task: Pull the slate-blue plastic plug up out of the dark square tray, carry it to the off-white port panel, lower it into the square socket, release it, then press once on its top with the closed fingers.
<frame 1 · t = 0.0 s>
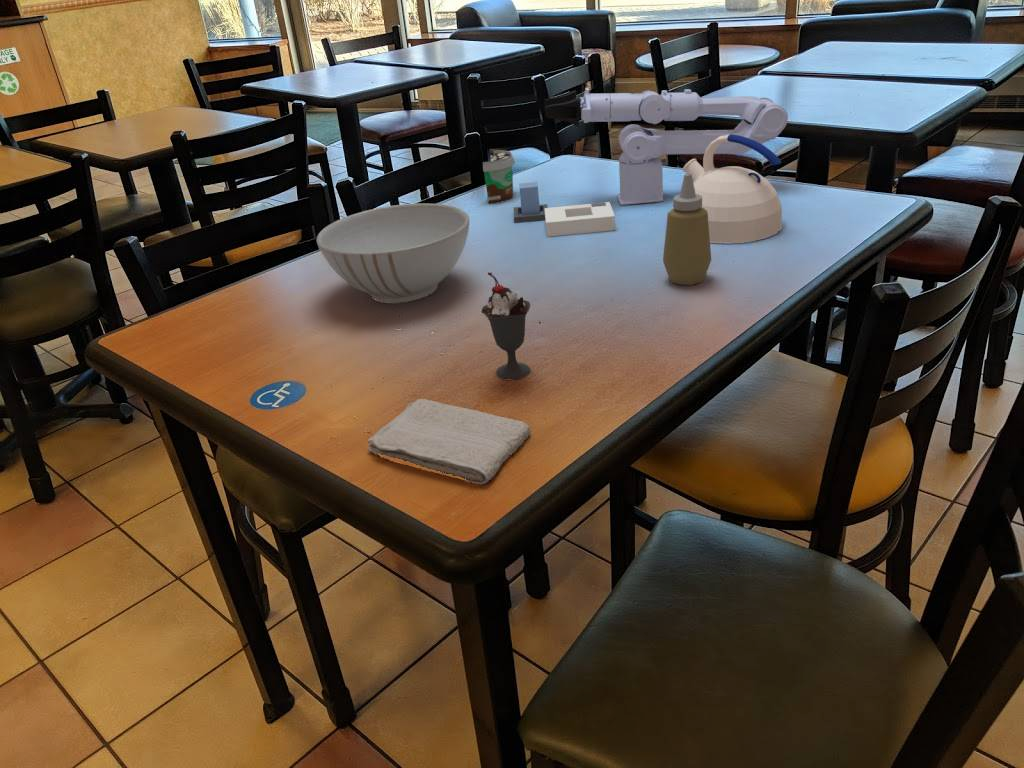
hand: (545, 108, 168), 22 cm above the table, tool horizontal, fingers open, 7 cm apart
decorative bowl: (404, 291, 143), on the table
sundae: (513, 373, 112), on the table
squeeze bottle: (686, 280, 135), on the table
washcloth: (449, 449, 97), on the table
port panel: (579, 225, 165), on the table
food container: (505, 198, 189), on the table
dark square tray: (531, 216, 174), on the table
plug: (529, 200, 172), in the dark square tray
kettle: (728, 228, 156), on the table
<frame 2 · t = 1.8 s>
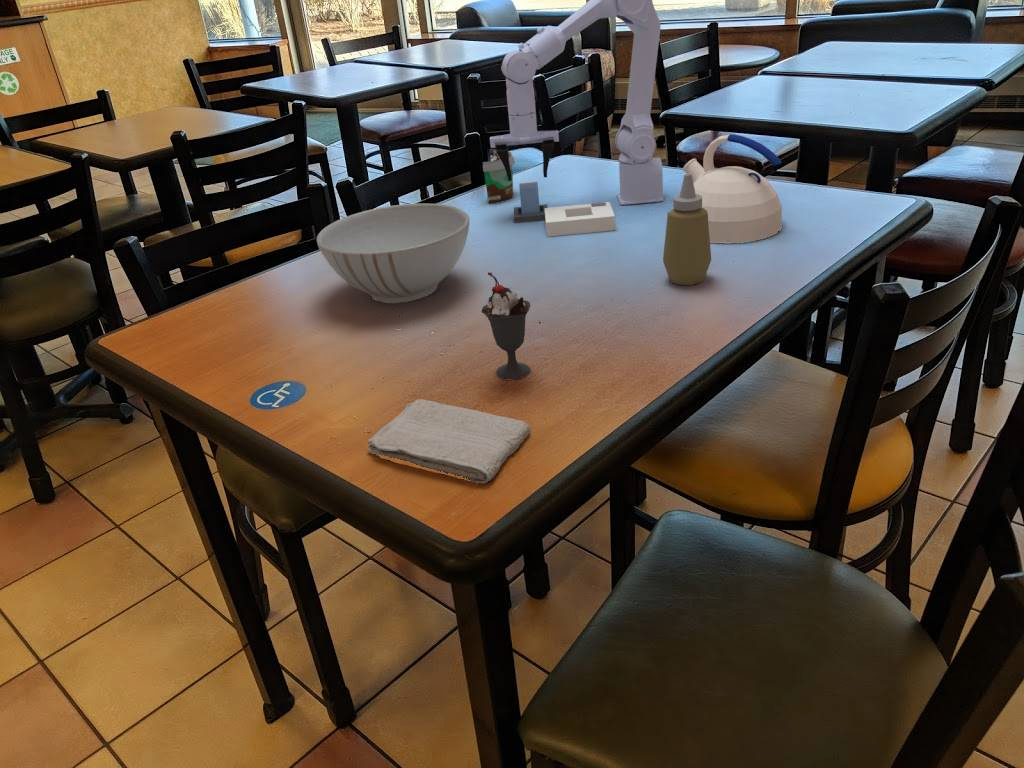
hand: (527, 177, 170), 9 cm above the table, tool pointing down, fingers open, 7 cm apart
nothing on the table moved.
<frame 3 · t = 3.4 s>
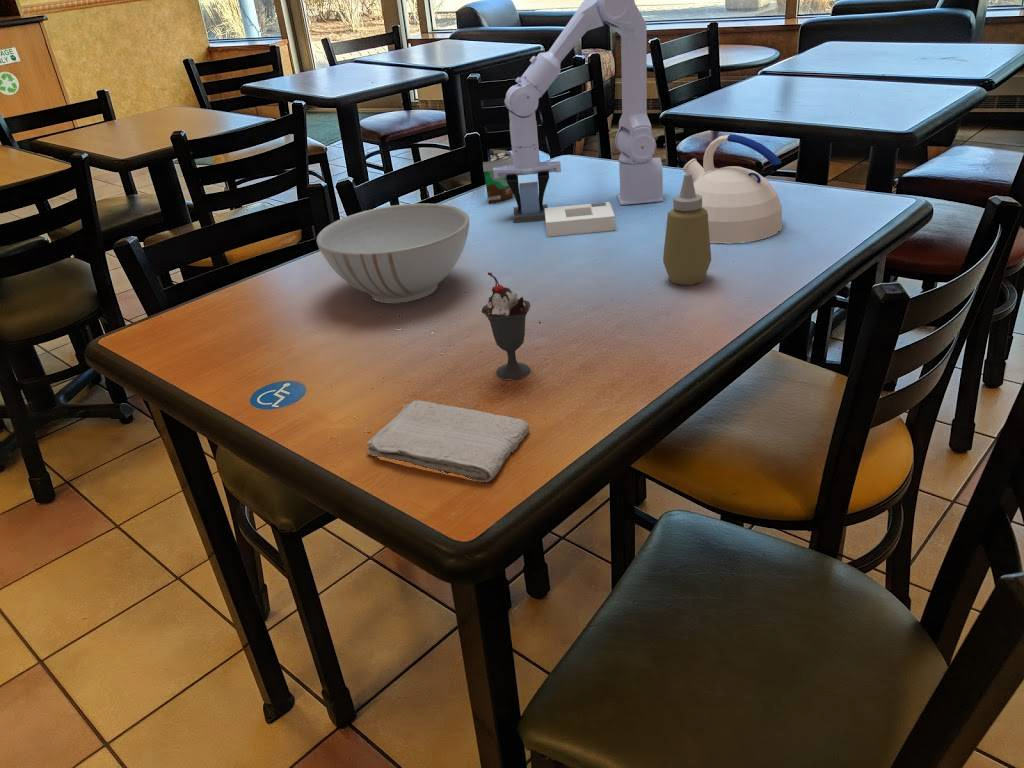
hand: (530, 207, 173), 2 cm above the table, tool pointing down, fingers closed on plug, 4 cm apart
plug: (529, 200, 172), in the dark square tray, touching gripper
everything else where it was.
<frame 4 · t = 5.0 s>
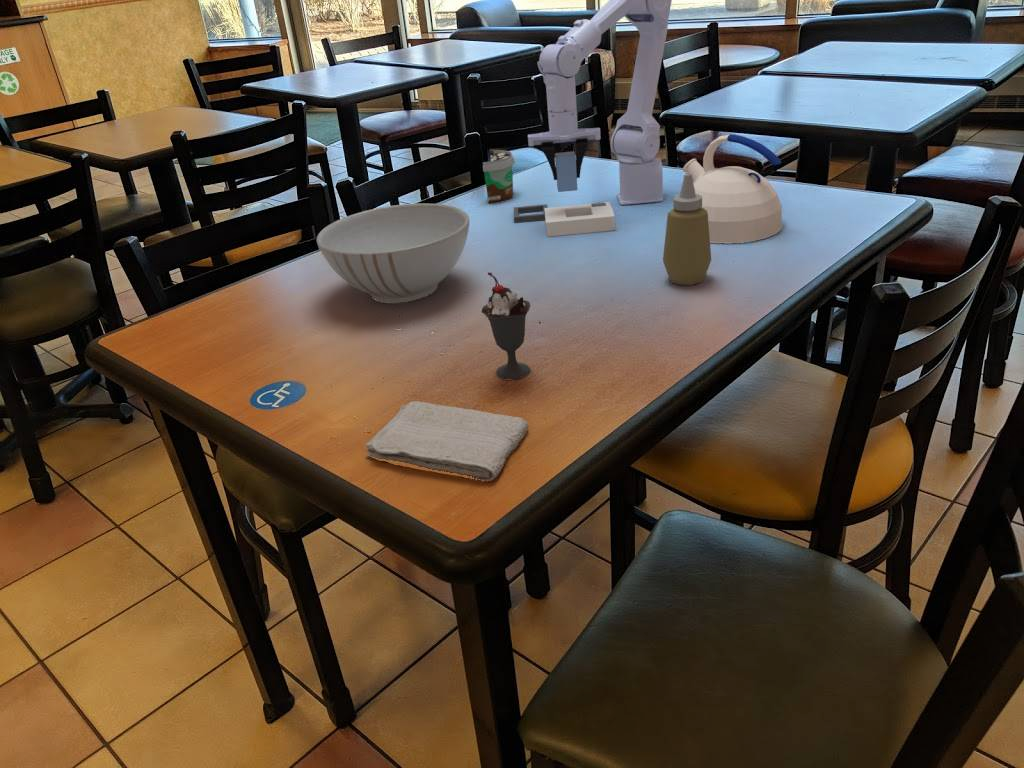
hand: (566, 177, 162), 10 cm above the table, tool pointing down, fingers closed on plug, 4 cm apart
plug: (566, 171, 161), point 11 cm above the table, touching gripper
everything else where it was.
when the fingers open (3 cm above the table, at t = 7.0 s): plug drops 1 cm, resting in port panel.
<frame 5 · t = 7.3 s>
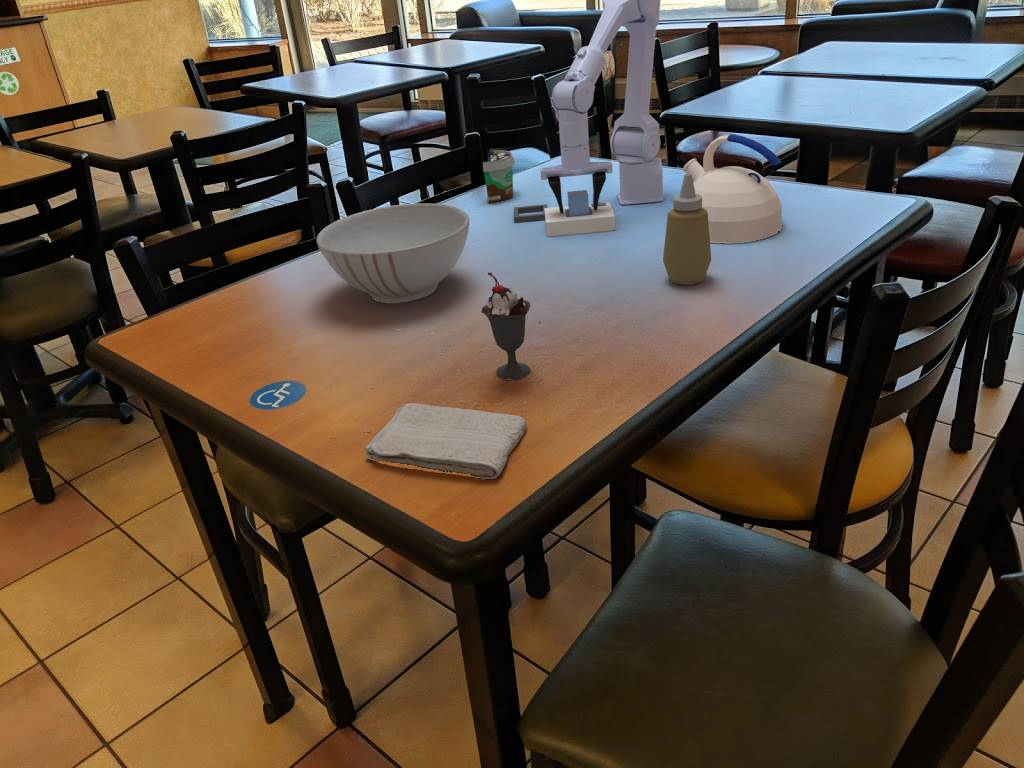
hand: (578, 210, 163), 3 cm above the table, tool pointing down, fingers open, 6 cm apart
plug: (578, 209, 163), in the port panel
everything else where it was.
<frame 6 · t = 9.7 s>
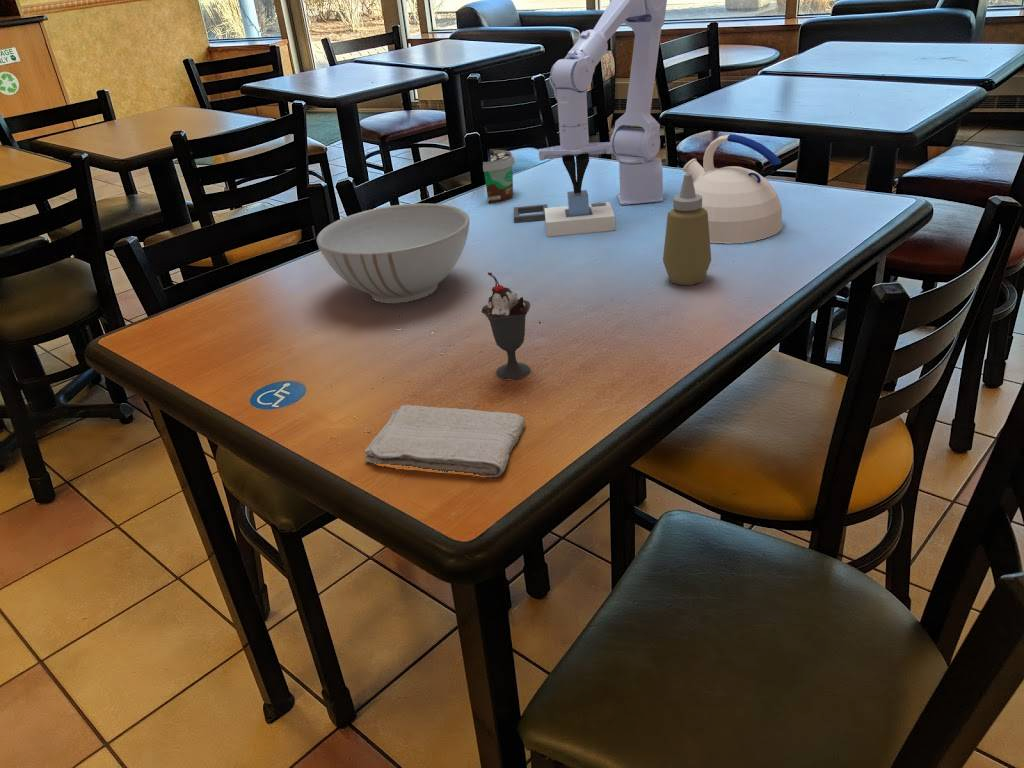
hand: (577, 191, 161), 7 cm above the table, tool pointing down, fingers closed
nothing on the table moved.
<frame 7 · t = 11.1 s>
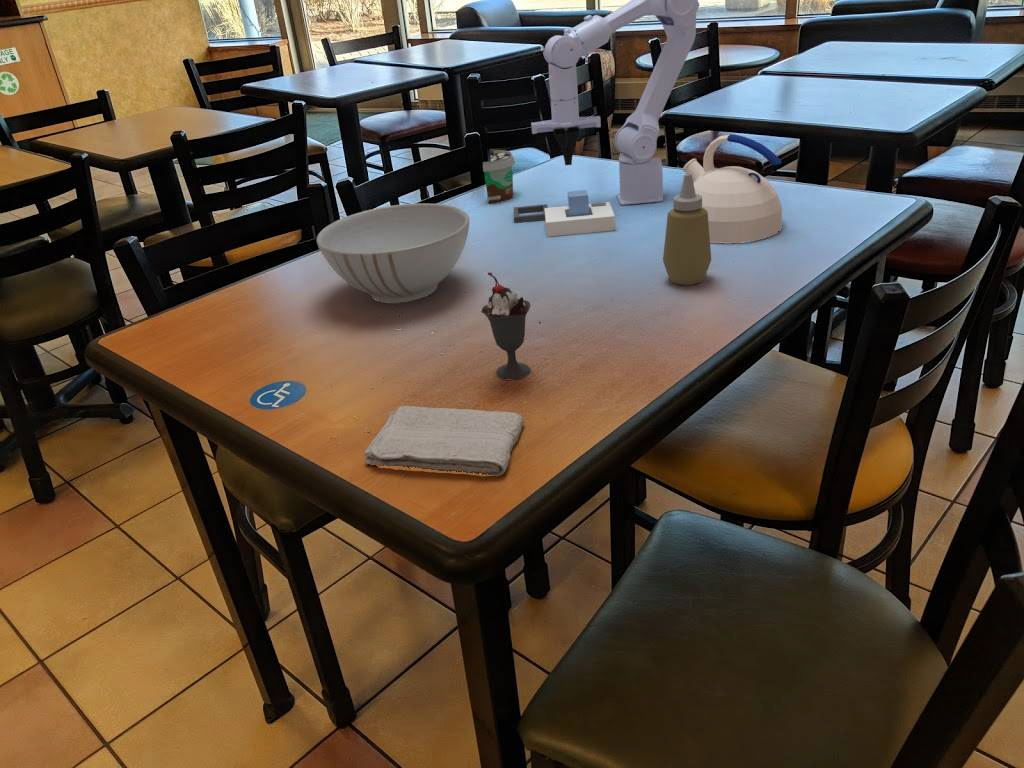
hand: (568, 164, 169), 10 cm above the table, tool pointing down, fingers closed
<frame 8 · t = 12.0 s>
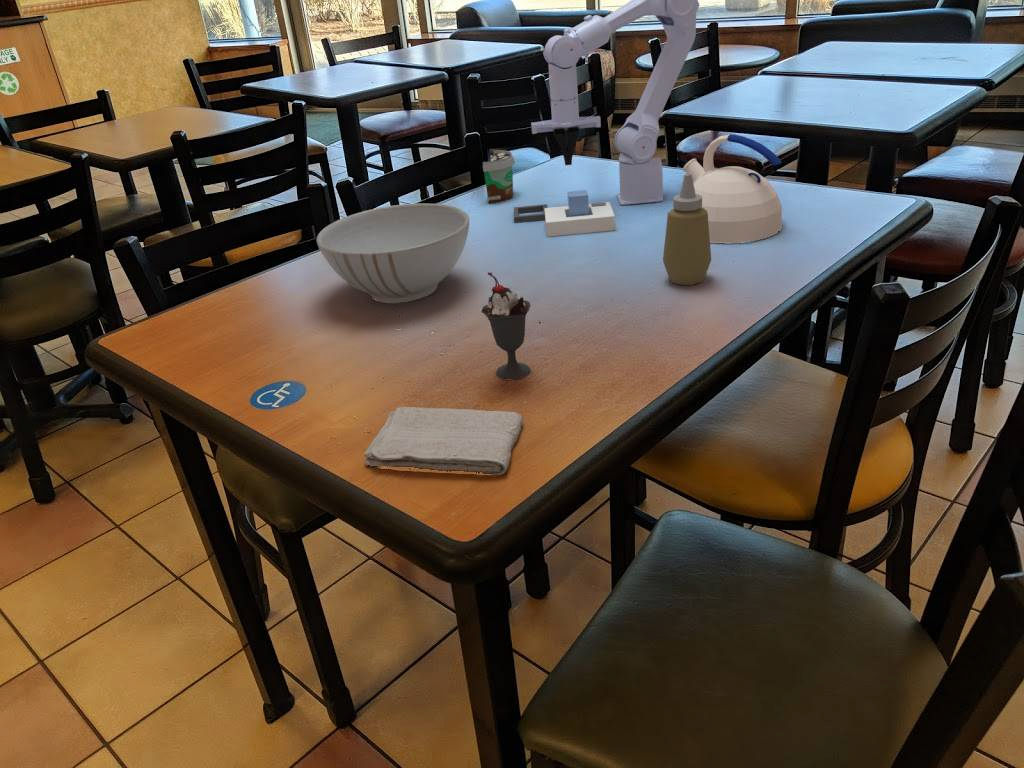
hand: (568, 164, 169), 10 cm above the table, tool pointing down, fingers closed
at the end: plug 0.0 cm off-centre on the port panel, point 3.4 cm above the port panel's base; plug tilted 0°; the gripper is holding nothing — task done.
